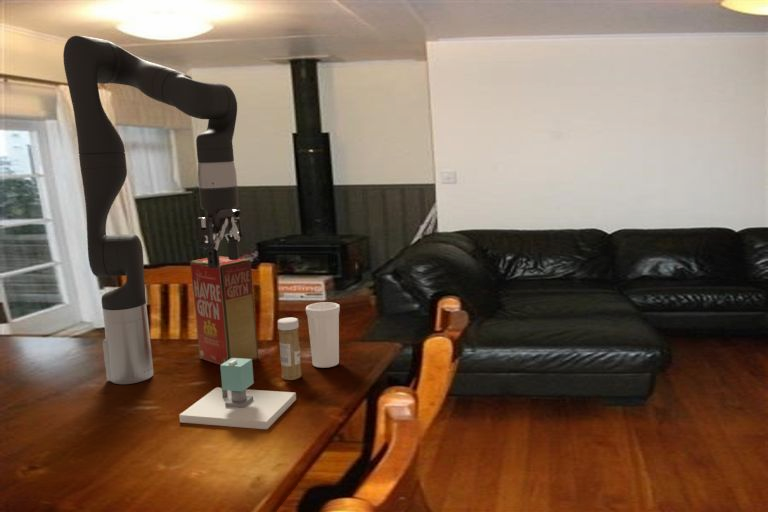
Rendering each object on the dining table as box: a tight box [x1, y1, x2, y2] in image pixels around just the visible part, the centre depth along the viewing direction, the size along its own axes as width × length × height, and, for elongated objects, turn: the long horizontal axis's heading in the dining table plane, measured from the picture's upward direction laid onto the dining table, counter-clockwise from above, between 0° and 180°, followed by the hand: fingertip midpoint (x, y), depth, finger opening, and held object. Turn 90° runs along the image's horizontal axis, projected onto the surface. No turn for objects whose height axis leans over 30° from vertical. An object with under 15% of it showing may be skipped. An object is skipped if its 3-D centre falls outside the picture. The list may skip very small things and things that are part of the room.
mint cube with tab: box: [220, 358, 255, 392], centre depth 121 cm, size 4×4×6 cm
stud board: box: [178, 386, 297, 430], centre depth 122 cm, size 18×14×5 cm
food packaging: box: [189, 255, 259, 365], centre depth 153 cm, size 13×9×25 cm
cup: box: [305, 301, 341, 369], centre depth 146 cm, size 8×8×14 cm
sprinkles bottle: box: [277, 317, 302, 381], centre depth 139 cm, size 5×5×13 cm
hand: (224, 263), depth 128 cm, fingers open, 8 cm apart
